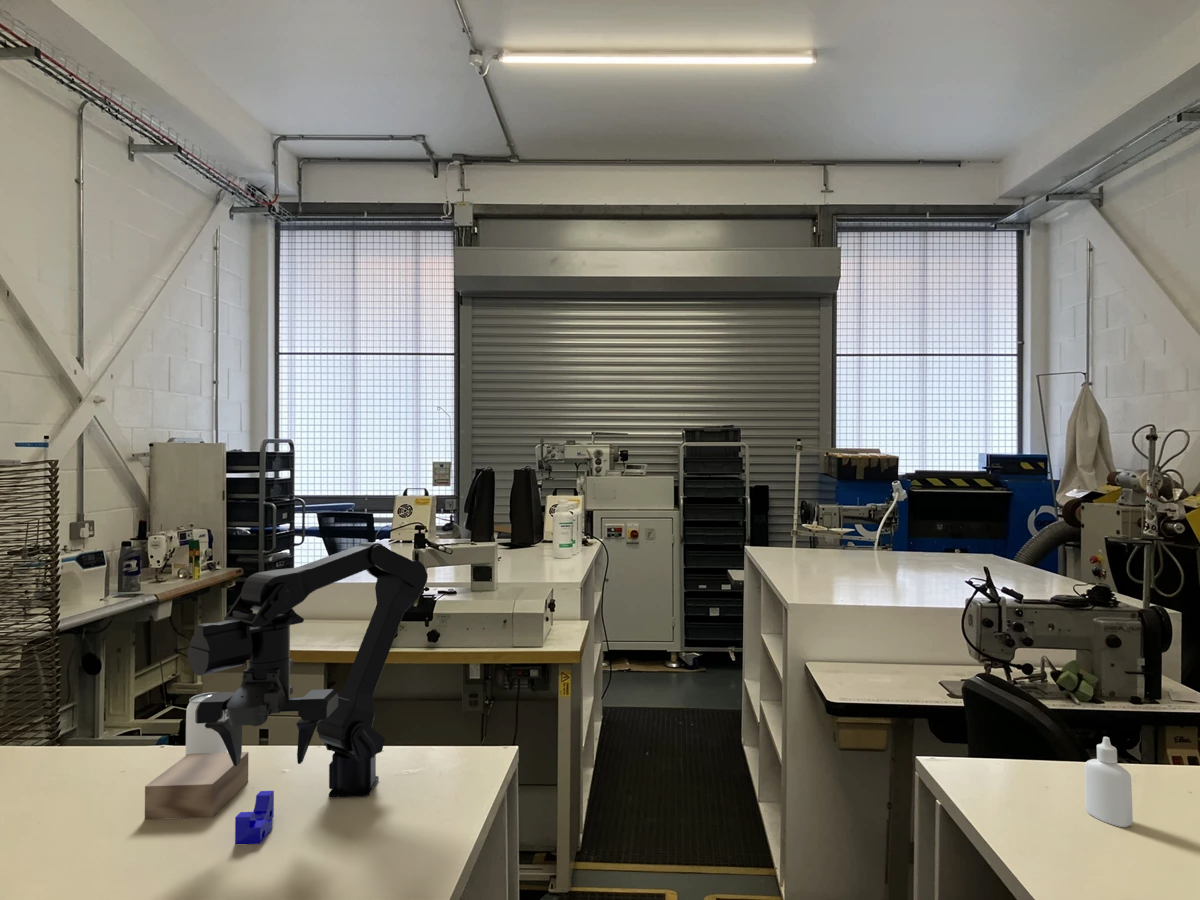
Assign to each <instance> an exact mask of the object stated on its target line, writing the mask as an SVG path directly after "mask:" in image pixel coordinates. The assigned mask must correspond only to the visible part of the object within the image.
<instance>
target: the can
mask: <svg viewBox="0 0 1200 900" xmlns="http://www.w3.org/2000/svg"><path fill="white" fill-rule="evenodd" d="M216 692H217V691H215V692H214V691H213V692H211V691H210V692H206V693H205V692H204V693H199V694H197V695H194V696H192V697H190V698H189V700H188V701H189V703H188V705H187V707H186V710H185V711H186V712H185V713H186V714H185V717H186V718H185V756H186V755H187V754H202V753H228V751H227V748H226V746H225V744H224V741H223V740H222V738H221V736H220V735H219V733H218V732H216V731H215V730H213V729H211V728H206V727H205V724H206V723H198V724H197V723H196V722H195V711H196V708H197V706H198V705H199V703H200V702H202V701H203V700H205V699H206V698H208V697H209V696H211V695H213V694H214V693H216Z"/></svg>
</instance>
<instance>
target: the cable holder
mask: <svg viewBox="0 0 1200 900" xmlns="http://www.w3.org/2000/svg"><path fill="white" fill-rule="evenodd" d="M274 792H275V790H260V791H259V792H258V793H257V794H256V795H255V802H254V803H255V804H254V808H253V811H241V812H239V813H238V814H237V815H236V816H235V817H234V818H235V819H234V820H235V821H234V829H235V830H234V845H235V846H237V845H236V844H247V845H261V842H263V841H264V840H265V839H266V838H267V837H268V835H269V834H270V833H271V832H272V830H273V818H274V815H275V814H274V813H275V812H274V811H275V807H274V806H275V804H274V801H275V794H274ZM271 818H272V819H271ZM270 831H271V832H270ZM265 837H266V838H265Z"/></svg>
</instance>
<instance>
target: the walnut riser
mask: <svg viewBox="0 0 1200 900" xmlns="http://www.w3.org/2000/svg"><path fill="white" fill-rule="evenodd" d="M248 783H249V752H248V751H243V752H241V759H240V764H239V765H237V766H234V765H233V762H232V760H231V758H230V755H229V753H228V752H227V753H202V754H187V755H186V754H185V755H184V756H183V757H182V758H180V759H179V760H178V761H177V762H175V763H174V764H173V765H171V766H170V767H169V768H167V769H166V770H165V771H164V772H162V773H161V774H160V775H158V776H156V777H155V778H154V779H153V780H151V781H150V782H149V783H147V784H146V785H145V786H144V820H147V821H148V820H168V819H167V818H177V819H195V818H198V819H199V818H201V819H202V818H203V819H205V818H213V817H214V816H215V815H216V814H217V813H218V812H220V811H221V809H222V808H223V807H224V806H225V805H227V803H229V802H230V801H231V799H232V798H233V797H234V796H236V794H237V793H239V791H240V790H242V789H243V788H244V787H245V786H246V784H248ZM165 818H166V819H165Z"/></svg>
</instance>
